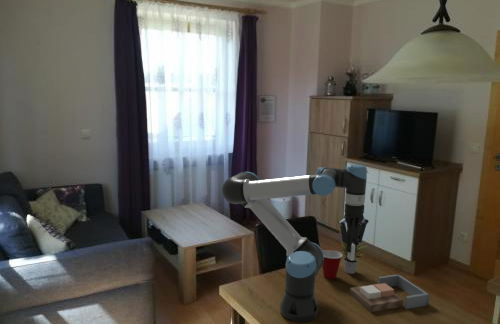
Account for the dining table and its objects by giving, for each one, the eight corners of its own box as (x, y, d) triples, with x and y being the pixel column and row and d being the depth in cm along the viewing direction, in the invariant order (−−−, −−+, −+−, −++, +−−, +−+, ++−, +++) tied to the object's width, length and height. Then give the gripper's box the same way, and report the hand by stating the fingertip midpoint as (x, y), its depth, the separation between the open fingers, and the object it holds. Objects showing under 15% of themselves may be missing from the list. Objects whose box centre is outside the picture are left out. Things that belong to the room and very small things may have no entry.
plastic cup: (339, 272, 191) (341, 249, 189) (342, 282, 180) (344, 258, 178) (317, 270, 192) (318, 248, 190) (319, 281, 181) (320, 257, 179)
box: (406, 309, 159) (407, 297, 158) (377, 287, 177) (378, 277, 176) (427, 305, 162) (429, 294, 161) (397, 284, 180) (398, 274, 179)
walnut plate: (370, 312, 156) (370, 305, 155) (349, 294, 170) (350, 287, 169) (402, 306, 161) (403, 299, 160) (380, 289, 175) (380, 283, 174)
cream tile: (368, 299, 160) (368, 293, 160) (360, 292, 166) (360, 286, 165) (380, 297, 162) (381, 291, 162) (371, 290, 168) (372, 285, 167)
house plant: (367, 267, 197) (369, 237, 194) (367, 279, 184) (370, 247, 181) (338, 263, 201) (340, 233, 198) (337, 275, 188) (339, 243, 185)
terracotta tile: (381, 297, 162) (382, 291, 162) (372, 290, 168) (373, 284, 167) (393, 295, 164) (394, 289, 164) (384, 288, 170) (384, 283, 169)
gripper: (345, 207, 148) (341, 264, 152) (374, 204, 152) (369, 261, 156) (335, 202, 155) (331, 257, 159) (363, 200, 159) (359, 253, 163)
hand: (350, 259), depth 158 cm, fingers closed
